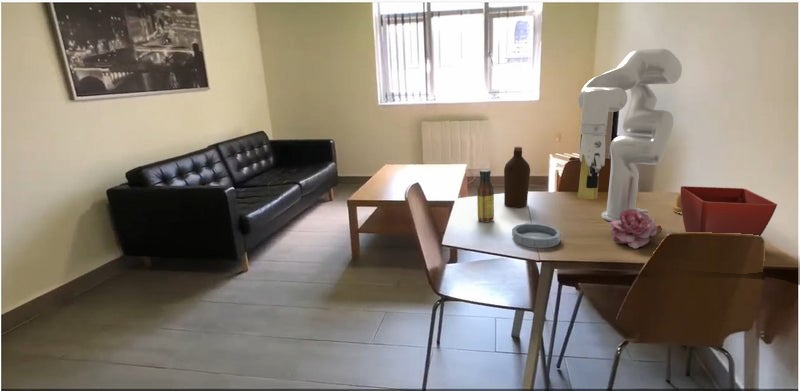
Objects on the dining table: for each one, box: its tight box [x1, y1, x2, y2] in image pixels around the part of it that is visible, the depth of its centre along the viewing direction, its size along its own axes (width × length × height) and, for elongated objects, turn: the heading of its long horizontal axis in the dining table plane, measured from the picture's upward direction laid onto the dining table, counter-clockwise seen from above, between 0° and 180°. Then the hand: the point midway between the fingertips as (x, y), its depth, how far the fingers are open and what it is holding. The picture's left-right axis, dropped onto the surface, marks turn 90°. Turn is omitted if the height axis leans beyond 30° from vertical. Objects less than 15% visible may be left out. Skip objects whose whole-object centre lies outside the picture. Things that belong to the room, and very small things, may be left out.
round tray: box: [511, 222, 562, 249], centre depth 149 cm, size 15×15×3 cm
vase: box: [577, 154, 599, 200], centre depth 141 cm, size 6×6×14 cm
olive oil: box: [503, 146, 531, 209], centre depth 184 cm, size 11×11×25 cm
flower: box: [608, 209, 663, 249], centre depth 144 cm, size 15×15×10 cm
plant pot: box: [680, 185, 778, 237], centre depth 138 cm, size 19×19×17 cm
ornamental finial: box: [672, 193, 682, 212], centre depth 170 cm, size 8×8×8 cm
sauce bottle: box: [476, 168, 495, 223], centre depth 167 cm, size 7×6×20 cm
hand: (588, 184), depth 141 cm, fingers closed on vase, 5 cm apart
